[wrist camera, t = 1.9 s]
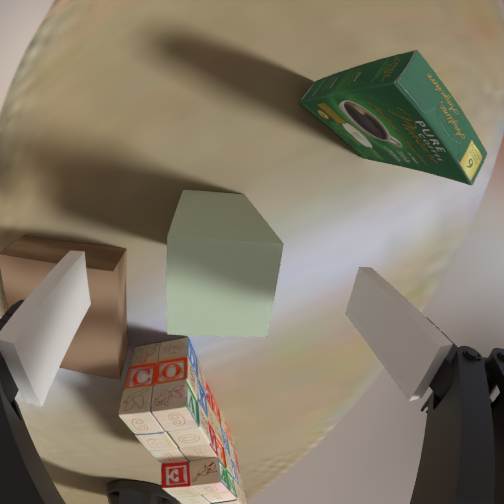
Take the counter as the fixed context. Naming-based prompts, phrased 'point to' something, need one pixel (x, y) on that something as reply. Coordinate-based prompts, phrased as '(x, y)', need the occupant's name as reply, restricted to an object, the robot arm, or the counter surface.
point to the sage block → (220, 267)
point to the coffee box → (399, 117)
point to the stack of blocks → (181, 424)
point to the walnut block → (100, 290)
